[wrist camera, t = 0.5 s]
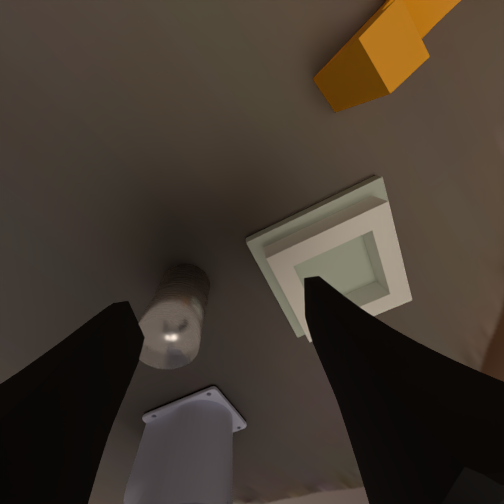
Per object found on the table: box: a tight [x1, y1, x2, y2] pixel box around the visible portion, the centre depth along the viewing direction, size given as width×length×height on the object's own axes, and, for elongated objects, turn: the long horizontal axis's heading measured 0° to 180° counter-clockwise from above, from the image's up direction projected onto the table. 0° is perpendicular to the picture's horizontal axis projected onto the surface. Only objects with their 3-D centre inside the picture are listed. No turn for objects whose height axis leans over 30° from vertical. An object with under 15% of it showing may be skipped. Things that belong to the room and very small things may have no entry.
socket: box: [245, 175, 412, 342], centre depth 19 cm, size 11×11×3 cm
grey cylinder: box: [139, 264, 210, 369], centre depth 18 cm, size 4×4×7 cm
